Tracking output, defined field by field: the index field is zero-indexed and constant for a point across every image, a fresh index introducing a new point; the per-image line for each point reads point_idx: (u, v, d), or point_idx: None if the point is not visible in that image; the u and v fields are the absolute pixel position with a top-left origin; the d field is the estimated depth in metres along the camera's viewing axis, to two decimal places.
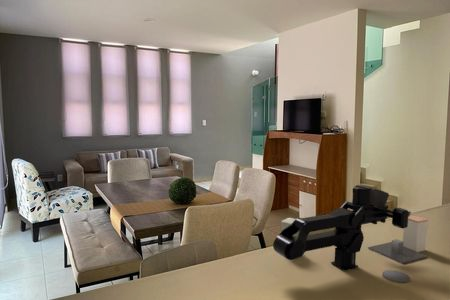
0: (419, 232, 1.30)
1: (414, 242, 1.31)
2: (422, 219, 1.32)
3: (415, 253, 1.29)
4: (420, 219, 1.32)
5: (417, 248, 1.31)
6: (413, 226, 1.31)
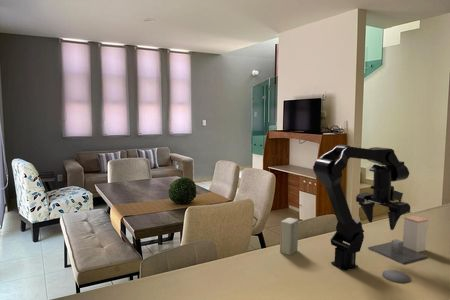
0: (419, 232, 1.30)
1: (414, 242, 1.31)
2: (422, 219, 1.32)
3: (415, 253, 1.29)
4: (420, 219, 1.32)
5: (417, 248, 1.31)
6: (413, 226, 1.31)
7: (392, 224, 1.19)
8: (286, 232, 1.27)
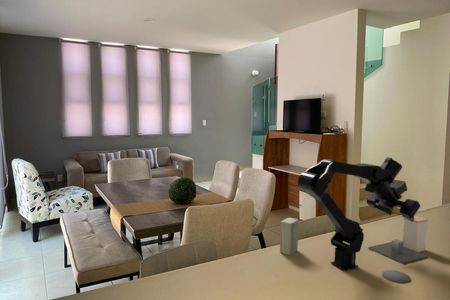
0: (419, 232, 1.30)
1: (414, 242, 1.31)
2: (422, 219, 1.32)
3: (415, 253, 1.29)
4: (420, 219, 1.32)
5: (417, 248, 1.31)
6: (413, 226, 1.31)
7: (411, 219, 1.23)
8: (286, 232, 1.27)
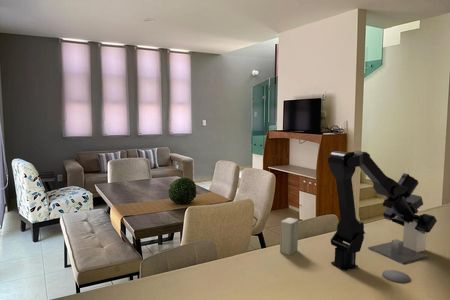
0: (419, 232, 1.30)
1: (414, 242, 1.31)
2: None
3: (415, 253, 1.29)
4: None
5: (417, 248, 1.31)
6: (413, 226, 1.31)
7: (423, 231, 1.30)
8: (286, 232, 1.27)
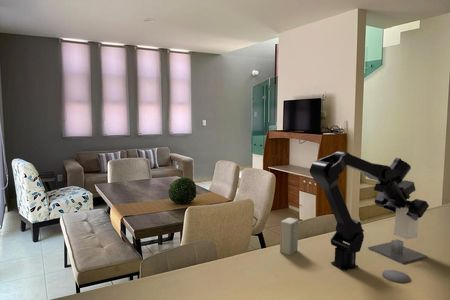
0: (411, 218, 1.28)
1: (406, 229, 1.28)
2: None
3: (415, 253, 1.29)
4: None
5: (409, 235, 1.28)
6: (405, 212, 1.28)
7: (414, 218, 1.27)
8: (286, 232, 1.27)
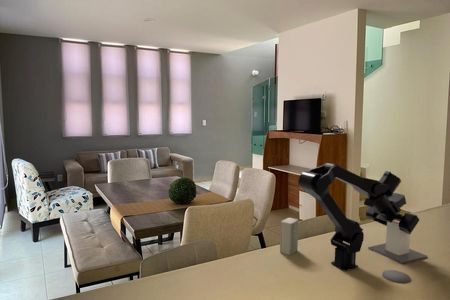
0: (402, 234, 1.26)
1: (397, 244, 1.27)
2: None
3: (415, 253, 1.29)
4: None
5: (400, 251, 1.27)
6: (396, 228, 1.27)
7: (408, 232, 1.25)
8: (286, 232, 1.27)
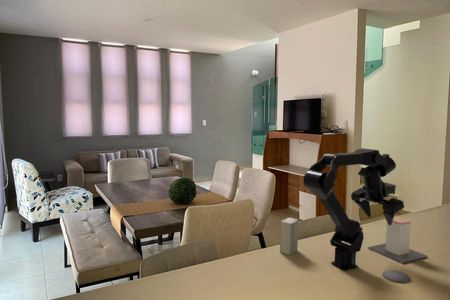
0: (402, 234, 1.26)
1: (397, 244, 1.27)
2: (405, 221, 1.28)
3: (415, 253, 1.29)
4: (403, 221, 1.28)
5: (400, 251, 1.27)
6: (396, 228, 1.27)
7: (389, 221, 1.21)
8: (286, 232, 1.27)
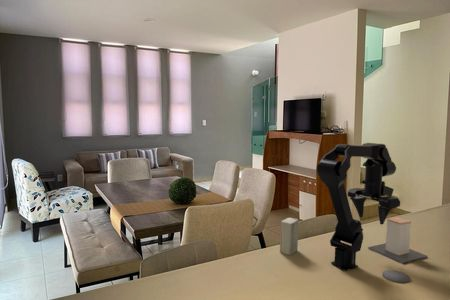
0: (402, 234, 1.26)
1: (397, 244, 1.27)
2: (405, 221, 1.28)
3: (415, 253, 1.29)
4: (403, 221, 1.28)
5: (400, 251, 1.27)
6: (396, 228, 1.27)
7: (382, 218, 1.21)
8: (286, 232, 1.27)
